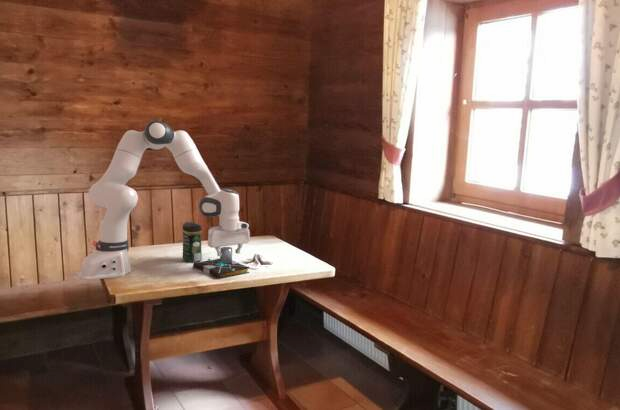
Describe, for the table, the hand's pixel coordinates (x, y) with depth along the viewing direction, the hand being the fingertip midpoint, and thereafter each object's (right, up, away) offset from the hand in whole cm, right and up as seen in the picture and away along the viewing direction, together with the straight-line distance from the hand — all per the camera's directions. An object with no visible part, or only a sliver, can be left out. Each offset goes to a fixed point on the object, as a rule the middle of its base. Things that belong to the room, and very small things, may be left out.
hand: (228, 254), depth 237 cm
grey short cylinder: (-1, -4, +1) cm, 4 cm away
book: (-3, -8, 0) cm, 9 cm away
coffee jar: (-20, -4, +14) cm, 25 cm away
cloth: (+13, -6, +13) cm, 20 cm away
